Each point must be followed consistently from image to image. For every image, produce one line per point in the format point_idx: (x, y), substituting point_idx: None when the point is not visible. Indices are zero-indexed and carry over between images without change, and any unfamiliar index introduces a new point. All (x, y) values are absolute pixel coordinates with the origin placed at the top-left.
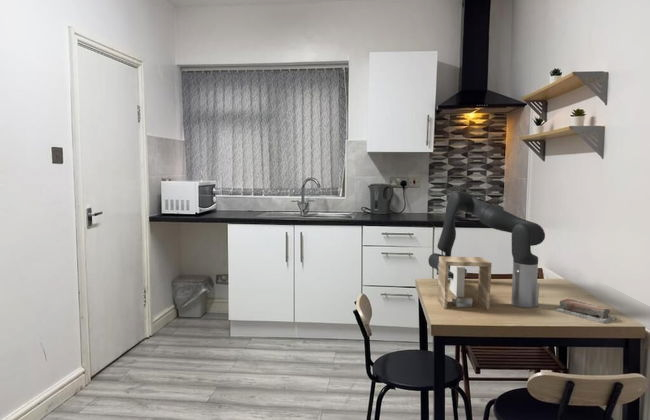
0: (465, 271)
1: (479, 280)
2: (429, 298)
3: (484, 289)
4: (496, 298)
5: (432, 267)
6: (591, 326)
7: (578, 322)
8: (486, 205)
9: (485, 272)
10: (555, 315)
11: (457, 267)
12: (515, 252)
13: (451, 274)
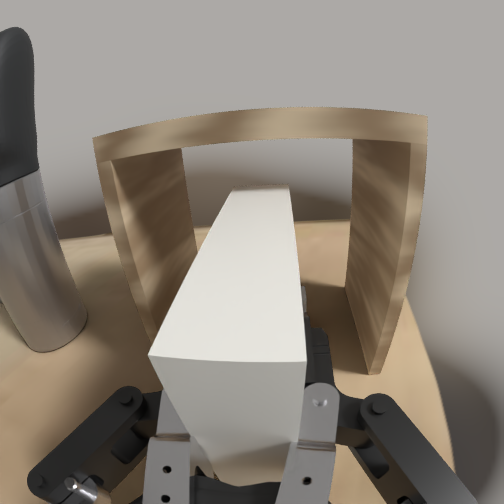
0: (98, 411)
1: (149, 273)
2: (419, 401)
3: (183, 253)
4: (62, 404)
5: None
6: (85, 237)
7: (82, 246)
8: None
9: (170, 177)
10: (75, 268)
11: (287, 186)
12: (24, 130)
13: (311, 328)
